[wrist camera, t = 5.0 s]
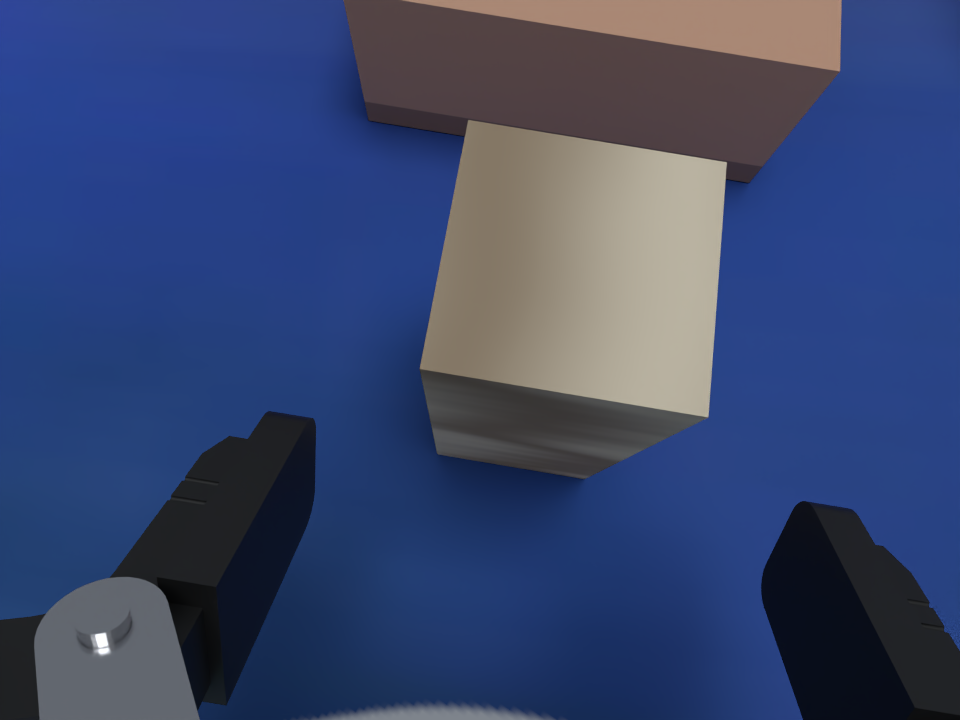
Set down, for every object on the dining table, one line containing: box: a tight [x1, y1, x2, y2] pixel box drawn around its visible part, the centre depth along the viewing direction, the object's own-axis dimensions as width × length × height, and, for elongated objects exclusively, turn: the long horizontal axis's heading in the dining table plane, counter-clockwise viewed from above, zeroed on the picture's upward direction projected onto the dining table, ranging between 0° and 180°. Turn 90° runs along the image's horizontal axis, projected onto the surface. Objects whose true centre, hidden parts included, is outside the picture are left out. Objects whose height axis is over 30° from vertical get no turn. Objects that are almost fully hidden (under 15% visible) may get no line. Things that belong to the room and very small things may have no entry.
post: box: [420, 120, 727, 479], centre depth 15 cm, size 4×4×10 cm
